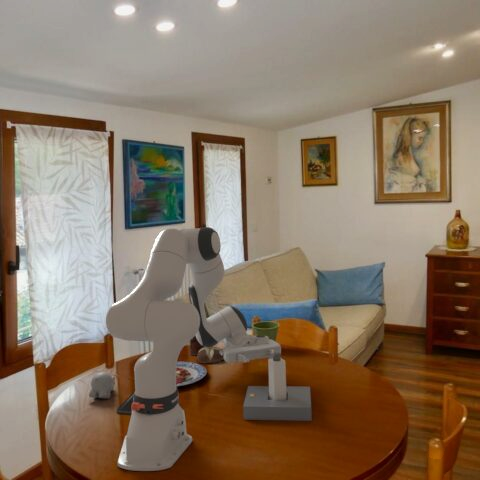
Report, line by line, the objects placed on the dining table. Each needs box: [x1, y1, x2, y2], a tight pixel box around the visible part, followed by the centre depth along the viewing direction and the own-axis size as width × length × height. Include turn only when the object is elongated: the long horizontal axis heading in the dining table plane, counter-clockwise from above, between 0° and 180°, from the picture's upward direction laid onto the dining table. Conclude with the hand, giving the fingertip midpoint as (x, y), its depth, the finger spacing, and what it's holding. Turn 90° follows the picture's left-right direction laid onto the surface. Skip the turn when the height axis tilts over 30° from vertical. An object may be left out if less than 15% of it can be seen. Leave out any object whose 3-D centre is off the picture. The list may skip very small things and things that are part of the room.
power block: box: [242, 385, 313, 422], centre depth 156 cm, size 16×20×4 cm
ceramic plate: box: [176, 361, 207, 388], centre depth 185 cm, size 26×26×3 cm
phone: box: [116, 392, 134, 415], centre depth 163 cm, size 8×1×15 cm
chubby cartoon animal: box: [88, 371, 116, 399], centre depth 170 cm, size 7×12×8 cm, turn 165°
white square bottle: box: [267, 352, 287, 400], centre depth 155 cm, size 4×4×17 cm
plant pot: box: [251, 320, 281, 342], centre depth 214 cm, size 12×12×11 cm
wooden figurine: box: [189, 335, 204, 356], centre depth 215 cm, size 12×6×18 cm, turn 170°
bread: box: [196, 346, 224, 365], centre depth 205 cm, size 11×11×5 cm
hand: (260, 358), depth 166 cm, fingers open, 8 cm apart
